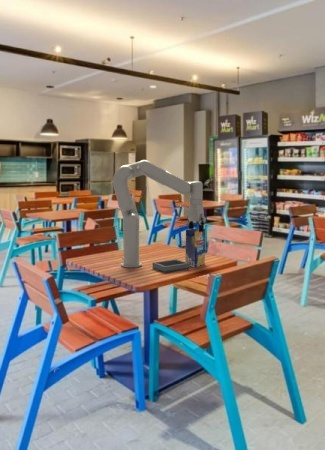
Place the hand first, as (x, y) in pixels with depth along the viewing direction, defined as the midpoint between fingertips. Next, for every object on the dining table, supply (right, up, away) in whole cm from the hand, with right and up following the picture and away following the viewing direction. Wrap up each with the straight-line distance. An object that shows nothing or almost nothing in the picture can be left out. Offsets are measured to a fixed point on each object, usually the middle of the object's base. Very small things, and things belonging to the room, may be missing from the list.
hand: (196, 230), depth 253 cm
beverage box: (0, -21, +3) cm, 21 cm away
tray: (-15, -22, -7) cm, 28 cm away
